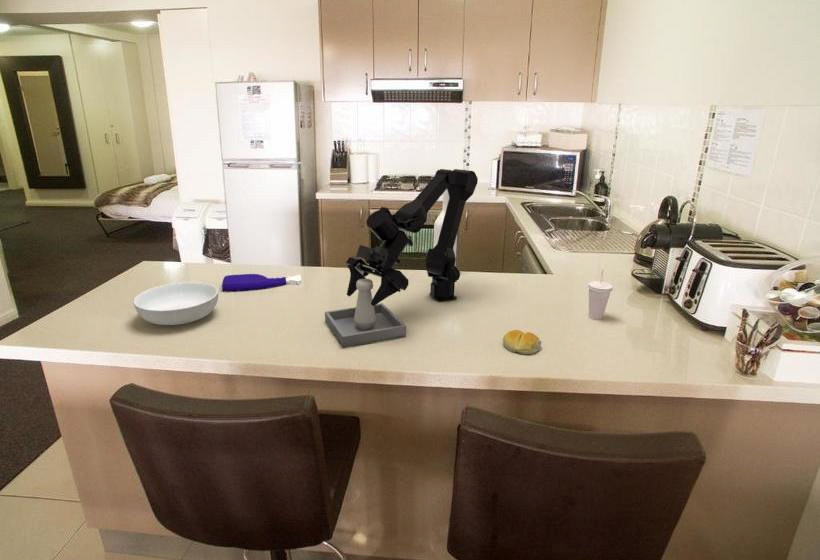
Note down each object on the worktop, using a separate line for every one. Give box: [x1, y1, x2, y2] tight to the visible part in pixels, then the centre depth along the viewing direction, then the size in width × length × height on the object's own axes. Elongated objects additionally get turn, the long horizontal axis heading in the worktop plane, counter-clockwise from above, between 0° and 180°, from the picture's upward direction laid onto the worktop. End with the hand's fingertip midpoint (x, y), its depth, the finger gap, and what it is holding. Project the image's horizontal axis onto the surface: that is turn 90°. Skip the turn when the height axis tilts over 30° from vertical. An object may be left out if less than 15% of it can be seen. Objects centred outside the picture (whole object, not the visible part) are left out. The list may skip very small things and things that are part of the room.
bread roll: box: [502, 329, 542, 355], centre depth 121 cm, size 8×9×4 cm
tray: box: [324, 302, 407, 349], centre depth 129 cm, size 17×17×3 cm
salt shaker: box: [354, 278, 376, 330], centre depth 127 cm, size 6×6×13 cm
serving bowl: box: [132, 281, 219, 326], centre depth 134 cm, size 21×21×7 cm
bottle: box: [432, 189, 458, 268], centre depth 171 cm, size 8×8×30 cm
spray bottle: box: [221, 273, 302, 292], centre depth 161 cm, size 3×11×24 cm
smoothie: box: [587, 268, 613, 321], centre depth 137 cm, size 6×6×14 cm
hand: (359, 300), depth 126 cm, fingers open, 9 cm apart
